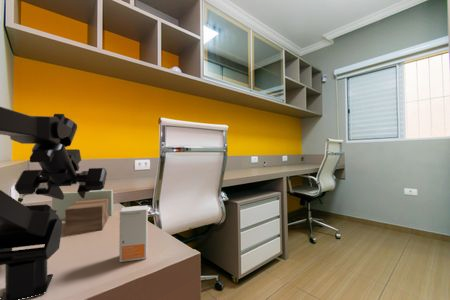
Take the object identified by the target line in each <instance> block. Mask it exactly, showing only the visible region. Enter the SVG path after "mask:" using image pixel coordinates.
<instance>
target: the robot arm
mask: <svg viewBox="0 0 450 300" xmlns="http://www.w3.org/2000/svg"><path fill="white" fill-rule="evenodd" d="M77 130H78V124H77V123H76V122H75V121H74V120H72V119H71V118H68V117H66V116H65V114H64V113H54V114H53V116H45V115H29V114H26V113H23V112H19V111H15V110H12V109H9V108H6V107H2V106H0V135H3V136H7V137H10V138H9V139H10V140H11V141H14V142H16V143H19V144H22V145H23V144H26V145H30V144H31V145H32V144H33V147H32V149H31V155H30V156H29V162H30V163H38V164H39V166H40V168H41V169H25V170H23V171H22V172H21V173H20V175H19V177H18V178H17V180H16V183H15V184H14V190H15V191H16V193H18V194H19V195H32V194H36V195H38V196H39V195H40V196H45V197H49V198H52V197H53V198H57V199H60V200H63V199H64V194H63V192H64V191H63V190H62V188H61V187H71V186H72V185H77V184H78V188H77V192H78V194H79V195H80V196H81V198H85V193H86V192H89V191H90V190H102V189H103V188H104V189H105V184H106V180H107V174H108V173H107V169H106V168H105V167H90V168H88V170H84V171H81V172H79V169H80V165H79V164H80V162H81V161H82V156H81V151H80V149H66V148H68V147H70V146H71V145H72V143H73V140H74V138H75V134H76V132H77ZM56 212H57V210H53V209H52V206H50V205H49V204H36V205H35V204H34V205H32V204H31V205H24V204H23V203H21V202H19V201H18V200H16V199H15V198H13V197H12V196H11V195H9V194H8V193H6V192H4V191H3V190H1V189H0V266H3V265H4V266H5V267H4V268H5V272H4V273H5V278H4V279H5V289H4V291H3V293H2V294H1V295H0V298H1V299H0V300H18V299H22V298H27V297H31V296H35V295H39V294H43V293H44V292H46V293H47V291H48V289H49V287H50V285H51V281H52V279H53V278H52V277H54V274H53V273H50V274H48V260H49V259H50V258H51V257H53V255H54V254H55V253H56V252H58V250H59V249H60V246H61V238H62V232H63V230H62V229H63V220H61V219H59V216H58V215H57V214H55V213H56ZM42 245H43V246H42ZM34 246H40V247H34ZM41 246H42V247H41ZM25 247H26V248H25ZM27 247H30V248H27ZM31 247H33V248H31ZM16 248H24V249H16ZM13 249H14V250H13ZM15 249H16V250H15ZM43 295H44V294H43ZM39 296H40V295H39ZM35 297H36V296H35ZM31 298H32V297H31Z"/></svg>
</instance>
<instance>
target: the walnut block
mask: <svg viewBox="0 0 450 300" xmlns="http://www.w3.org/2000/svg"><path fill="white" fill-rule="evenodd" d="M108 220H109V198H99V199H86V200H78V201H76V202H75V203H74V204H72V205H71V206H70V207H68V208H67V209H66V210H65V220H64V221H65V224H64V225H65V235H66V236H67V235H74V234H83V233H91V232H98V231H103V230H104V227H105V225H106V223H107V221H108Z"/></svg>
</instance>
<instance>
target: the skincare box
mask: <svg viewBox="0 0 450 300" xmlns="http://www.w3.org/2000/svg"><path fill="white" fill-rule="evenodd" d="M148 212H149V206H148V205H135V206H134V205H133V206H124V207H122V208H121V209H120V211H119V263H123V262H124V263H125V262H132V261H139V260H146V259H147V255H148V251H149V250H148V247H149V245H148V243H149V242H148V240H149V239H148V238H149V237H148V234H149V233H148V230H149V229H148V226H149V225H148V224H149V223H148V219H149V217H148V216H149V215H148V214H149V213H148ZM145 258H146V259H145Z"/></svg>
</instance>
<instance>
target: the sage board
mask: <svg viewBox="0 0 450 300" xmlns="http://www.w3.org/2000/svg"><path fill="white" fill-rule="evenodd" d="M77 191H78V190H77ZM77 191H62V192H63V194H64V199H63V200H60V199H57V198H53V197H51V208H52V209H53V210H57V212H56V213H55V214H57V215H58V216H59V219H61V221H65V210H66V209H67V208H68V207H70V206H71V205H72V204H74V203H75V202H76V201H78V200H86V199H99V198H109V216H110V217H111V216H113V215H114V189H104V190H94V191H89V192H86V193H85V198H81V196H80V195H79V194H78V192H77Z"/></svg>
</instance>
